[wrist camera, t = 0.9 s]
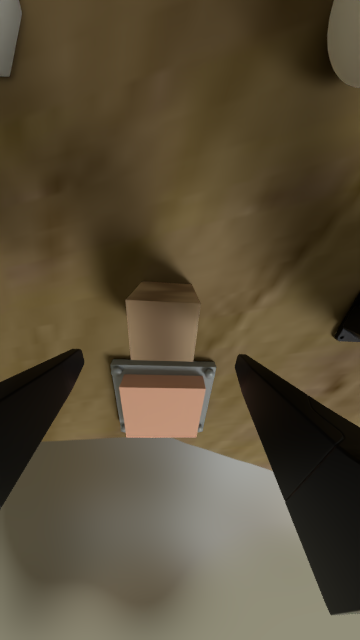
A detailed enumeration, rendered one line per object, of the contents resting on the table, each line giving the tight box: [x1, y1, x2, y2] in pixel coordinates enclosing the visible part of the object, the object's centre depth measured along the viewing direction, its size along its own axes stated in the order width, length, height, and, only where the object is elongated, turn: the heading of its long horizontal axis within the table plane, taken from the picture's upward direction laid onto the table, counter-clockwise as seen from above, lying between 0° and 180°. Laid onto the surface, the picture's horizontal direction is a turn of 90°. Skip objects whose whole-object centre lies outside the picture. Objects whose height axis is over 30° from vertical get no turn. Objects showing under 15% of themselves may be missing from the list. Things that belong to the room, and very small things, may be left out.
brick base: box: [111, 359, 216, 438], centre depth 21 cm, size 13×13×3 cm
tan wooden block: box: [125, 281, 201, 362], centre depth 14 cm, size 5×5×6 cm
